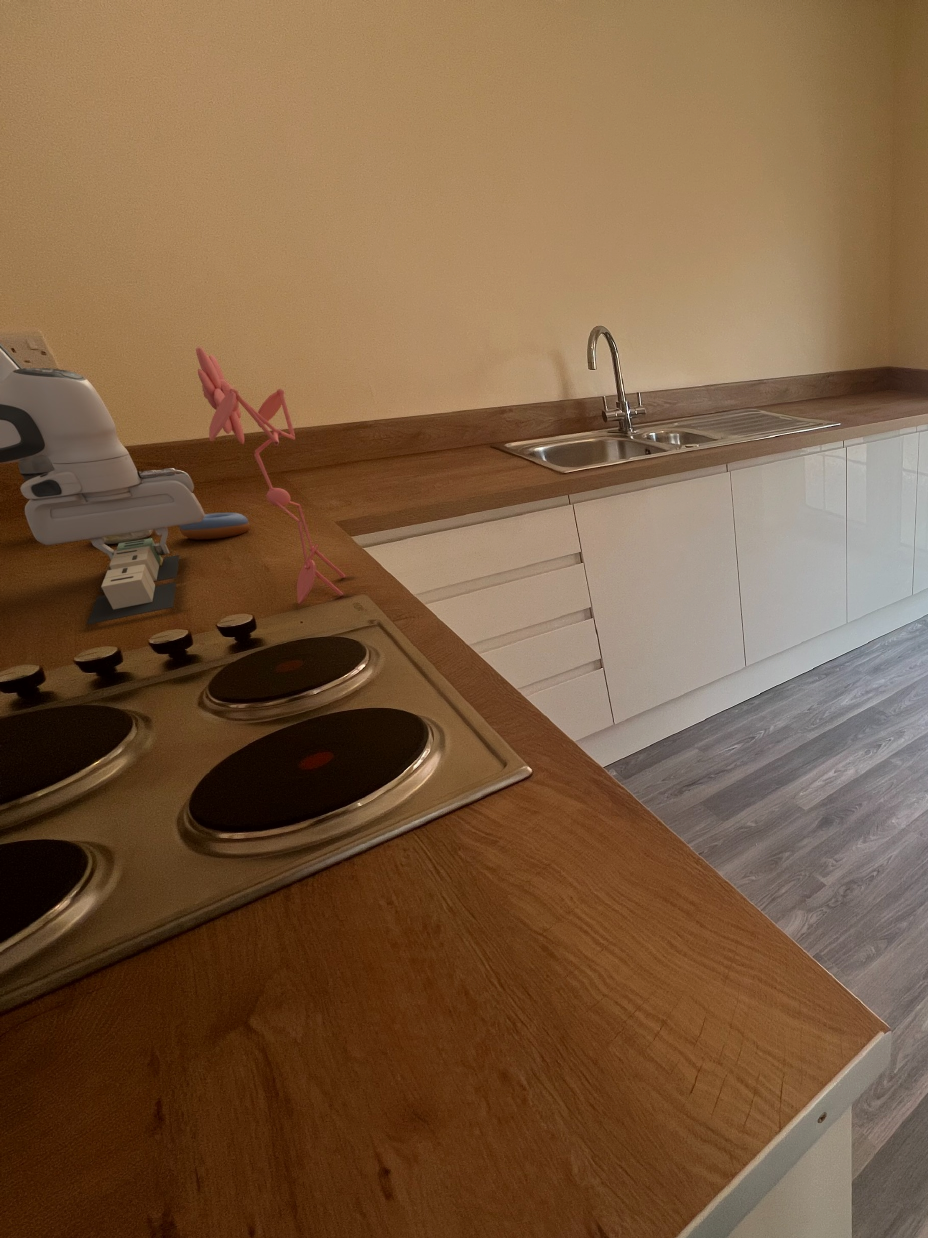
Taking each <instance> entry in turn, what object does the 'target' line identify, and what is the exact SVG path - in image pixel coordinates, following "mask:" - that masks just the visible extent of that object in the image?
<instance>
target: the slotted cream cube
mask: <svg viewBox="0 0 928 1238" xmlns="http://www.w3.org/2000/svg"><path fill="white" fill-rule="evenodd" d="M143 564H145V566H146V568H147V570H148V572H149V574H150V576H151V578H152V580H153V581H156V580H157V575H158V573H157V571H156V569H155V567H154V565H153V563H152V560H151V558H150V556H149V554H148V553H143V554H137V555H130V556H124V557H118V558H112V560H111V559H110V563H109V564H108V565H109V566H108V567H110V568H111V569H112V570H113V569H119V568H125V567H131V566H137V565H143ZM156 582H157V581H156Z"/></svg>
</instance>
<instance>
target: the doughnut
mask: <svg viewBox="0 0 928 1238" xmlns="http://www.w3.org/2000/svg"><path fill="white" fill-rule="evenodd" d="M178 527H179V531H180V533H181V534H182V536H183V537H186V538H188V539H191V540H198V541H199V540H204V541H205V540H217V539H227V538H233V537H236V536H237V537H238V536H239V535H243V534H245V533H247V532H248V531H249V529H250V523H249V519H248V518H247V517H246V516H245V515H243V514H241V513H238V512H215V513H214V512H213V513H205V517H204V518H203V520H202V521H201V522H198V523H192V524H185V525H179V526H178Z"/></svg>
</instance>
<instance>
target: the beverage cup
mask: <svg viewBox="0 0 928 1238" xmlns="http://www.w3.org/2000/svg"><path fill="white" fill-rule="evenodd" d="M18 470H19V474H20V476H22V478H23V479H24V480H25V482H26V481H28V480H30V479H32V478H35V477H37V476H40V475H42V474H44V473H47V472H51V471H54V467H53V465H52V463H51V461H50V460H49V458H48V457H46V456H43V455H39V456H36V457H33V458H28V459H23V460H20V461H18Z"/></svg>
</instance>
